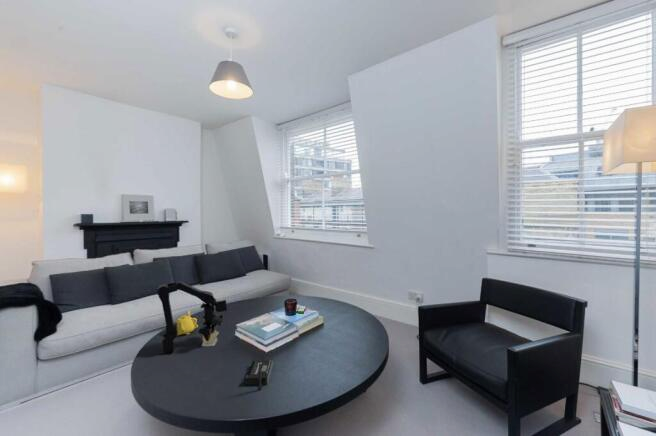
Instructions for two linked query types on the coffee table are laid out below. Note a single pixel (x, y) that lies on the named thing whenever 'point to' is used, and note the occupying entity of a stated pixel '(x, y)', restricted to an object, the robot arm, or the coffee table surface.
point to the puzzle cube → (301, 309)
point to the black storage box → (259, 372)
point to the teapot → (186, 324)
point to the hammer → (211, 343)
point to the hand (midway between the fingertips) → (209, 338)
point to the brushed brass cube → (210, 337)
